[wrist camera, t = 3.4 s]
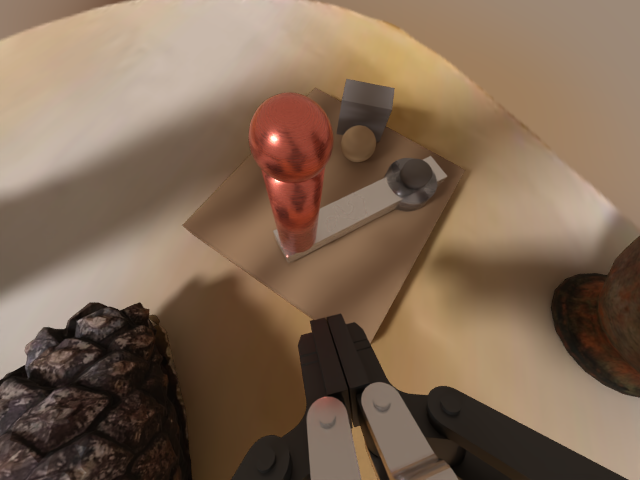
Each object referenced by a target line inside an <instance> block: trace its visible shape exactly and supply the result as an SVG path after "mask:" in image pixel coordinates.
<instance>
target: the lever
mask: <svg viewBox="0 0 640 480" xmlns="http://www.w3.org/2000/svg"><path fill="white" fill-rule="evenodd" d="M333 141H334V138H333V130H332V126H331V123H330V120H329V118H328V116H327V115H326V113H325V111H324V110H323V109H322V108H321V107H320V106H319V105H318V104H317V103H316V102H315V101H313V100H312V99H310V98H309V97H307V96H304V95H301V94H297V93H281V94H277V95H275V96H272V97H270V98H269V99H267V100H266V101H264V102H263V103H262V104H261V105H260V106H259V108H258V109H257V110H256V112H255V113H254V115H253V118H252V120H251V123H250V127H249V145H250V149H251V153H252V155H253V157H254V159H255V161H256V163H257V164H258V166H259V167H260V168H261V170H262V174H263V178H264V182H265V185H266V189H267V193H268V197H269V201H270V204H271V208H272V212H273V216H274V220H275V223H276V227H277V229H276V230H274V231H273V232H274V236H275V239H276V241H277V243H278V245H279V247H280V248H281V250H282V252H283V254H284V256H285V258H286V260H287V262H288V263H291V262H293V261H295V260H297V259H299V258H301V257H303V256H305V255H307V254H309V253H310V252H312V251H314V250H316V249H318V248H320V247H322V246H324V245H326V244H328V243H330V242H332V241H334V240H336V239H338V238H340V237H342V236H344V235H345V234H347V233H349V232H351V231H353V230H355V229H357V228H359V227H361V226H363V225H365V224H367V223H369V222H371V221H373V220H375V219H377V218H379V217H380V216H382V215H384V214H386V213H388V212H390V211H392V210H394V209H397V210H400V211H405V212H410V211H415V210H418V209H419V208H421V207H422V206H423V205H424V204H425V203H426V202H427V201H428V200H429V199H430V198H431V197H432V196H433V194H434V193H435V191H436V189H437V187H438V186H439V185H440V184H441V183H442V182H443V181H444V179H445V178H446V177H447V175H446V174H445V173H444V172H443V170H442V169H441V168H440V167H439V165H438V164H437V163H436V162H435V160H434V159H433V158H432V157H431V156H429V157H427V158H425V159H423V161H425V162H427V163H428V164H429V165H430V167H431V169H432V178H431V179H430V180H429V182H428V183H427V184H426V185H425V186H424V187H422V188H420V189H413V188H410V187H408V186H406V185H405V184H404V183H403V182H402V180H401V178H400V171H401V169H402V168H403V166H404V164H405V163H406V162H407V161H408V160H410V159H414V158H402V159H399V160H397V161H395V162H393V163H392V164H391V165H390V167H389V169H388V170H387V172H386V174H385V176H384V178H383V179H381V180H379V181H377V182H375V183H373V184H371V185H368V186H366V187H364V188H362V189H360V190H358V191H356V192H354V193H352V194H350V195H347V196H345V197H343V198H341V199H339V200H337V201H335V202H333V203H331V204H329V205H326V206H324V207H322V208H320V203H321V195H322V188H323V180H324V172H325V166H326V165H327V163H328V161H329V159H330V157H331V154H332V149H333Z"/></svg>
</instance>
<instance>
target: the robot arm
mask: <svg viewBox="0 0 640 480" xmlns="http://www.w3.org/2000/svg"><path fill="white" fill-rule="evenodd" d="M310 324H311V330H312V333H308V334H304V335H301V337H300V341H299V344H298V349H299V355H300V362H301V368H302V375H303V381H304V388H305V394H306V402H307V406H306V412H305V414H304V417H303V419H302V420H301V422H300V423H299V424H298V425H297V426H296V427H295V428H294V429H293V430H291V431H290V432H288V433H287V434H286V435H284V436H283V437H282V438H280V437H278V436H275V435H269V436H265V437H262V438H261V439H259V440H258V441H257V442H255V443H254V444H253V446H252V447H251V448H250V450H249V451H248V453H247V454H246V456H245V458H244V459H243V461H242V463H241V464H240V466H239V468H238V469H237V471H236V472H235V474H234V476H233V477H232V479H231V480H361V475H360V471H359V466H358V461H357V456H356V452H355V447H354V442H353V438H352V430H351V428H352V422H353V425H354V427H357V426H361V430H362V433H363V436H364V439H365V448H366V451H367V454H368V456H369V459H370V462H371V464H372V467H373V469H374V472H375V475H376V477H377V480H628V479H626V478H624V477H622V476H620V475H618V474H616V473H614V472H613V471H611V470H609V469H607V468H605V467H603V466H601V465H599V464H597V463H595V462H593V461H592V460H590V459H588V458H586V457H584V456H582V455H580V454H578V453H576V452H574V451H572V450H571V449H569V448H567V447H565V446H563V445H561V444H559V443H557V442H555V441H553V440H551V439H550V438H548V437H546V436H544V435H542V434H540V433H538V432H536V431H534V430H532V429H530V428H529V427H527V426H525V425H523V424H521V423H519V422H517V421H515V420H513V419H511V418H509V417H508V416H506V415H504V414H502V413H500V412H498V411H496V410H494V409H492V408H490V407H488V406H487V405H485V404H483V403H481V402H479V401H477V400H475V399H473V398H471V397H469V396H467V395H466V394H464V393H462V392H460V391H458V390H456V389H454V388H451V387H447V386H439V387H436V388H434V389H432V390H431V391H430V393H429V395H416V394H407V393H404V392H401V391H399V390H398V389H396V388H395V387H393V386H392V385H391V384H390V382H389V381H388V379H387V378H386V376H385V374H384V372H383V369H382V367H381V365H380V363H379V361H378V359H377V357H376V355H375V353H374V351H373V349H372V347H371V345H370V343H369V340H368V338H367V336H366V334H365V332H364V330H363V329H362V328H361V327H360V326H359V325H358V324H357V323H355V322H353V323H348V324H346V323H345V321H344V318H343V316H342V314H341V313H340V314H336V315H332V316H328V317H326V318H325V317H324V318H320V319H316V320H311V321H310ZM351 419H352V420H351Z"/></svg>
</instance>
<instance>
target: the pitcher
mask: <svg viewBox="0 0 640 480" xmlns="http://www.w3.org/2000/svg"><path fill="white" fill-rule="evenodd" d="M551 310H552V314H553V319H554V324H555V329H556V332H557V333H558V335H559V337H560V339H561V341H562V342H563V344H564V346H565V348H566V350H567V351H568V353H569V354H570V355H571V356H572V357H573V358H574V360H575V361H576V362H577V363H578V364H579V365H580V366H581V367H582V369H583V370H584V371H585V372H587V373H588V374H590V375H591V376H592V377H594V378H595V379H596V380H598V381H599V382H601V383H602V384H603V385H605V386H607V387H609V388H612V389H614V390H616V391H618V392H620V393H622V394H626V395H630V396H635V397H640V236H639V237H638V238H637V239H636V240H635V241H633V242H632V243H631V244H630V245H629V246H628V247H627V248H626V249H625V250H624V251H623V252H622V253H621V254H620V255H619V256H618V257H617V258H616V259H615V261H614V263H613V266H612V268H611V270H610V272H609V274H608V275H602V274H597V273H593V274H578V275H575V276H573V277H570V278H567V279H565V280H564V281H563V282H562V284H561V285H560V286H559V287H558V288H557V289H556V290H555V294H554V298H553V303H552V307H551Z"/></svg>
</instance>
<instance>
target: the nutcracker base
mask: <svg viewBox="0 0 640 480" xmlns="http://www.w3.org/2000/svg"><path fill="white" fill-rule="evenodd" d="M394 89H395V88H391V87H385V86H380V85H375V84H370V83H365V82H360V81H355V80H350V79H346V83H345V88H344V93H343V97H342V102H341V101H339V100H337V99H335V98H333V97H331V96H330V95H328V94H326V93H324V92H322V91H321V90H319V89H317V88H314V89H313V90H312V91H311V92H310V93H309V94H308V95H307V97H309V98H310V99H312V100H313V101H315V102H316V103H317V104H318V105H319V106H320V107H321V108H322V109H323V110H324V111H325V113H326V115H327V116H328V118H329V120H330V123H331V126H332V130H333V138H334V141H333V149H332V154H331V157H330V159H329V161H328V163H327V165H326V166H325V172H324V180H323V188H322V195H321V203H320V208H322V207H324V206H326V205H329V204H331V203H333V202H335V201H337V200H339V199H341V198H343V197H345V196H347V195H350V194H352V193H354V192H356V191H358V190H360V189H362V188H364V187H366V186H368V185H371V184H373V183H375V182H377V181H379V180H381V179H383V178H384V176H385V174H386V172H387V170H388V169H389V167H390V165H391V164H392V163H393V162H395V161H397V160H399V159H402V158H414V159H410V160H408V161H407V162H406V163H405V164H404V166H403V168H402V169H401V171H400V178H401V180H402V182H403V183H404V184H405V185H406V186H408V187H410V188H413V189H420V188H422V187H424V186H425V185H426V184H427V183H428V182H429V180H430V179H431V178H432V169H431V167H430V165H429V164H428V163H427V162H425V161H423V159H425V158H427V157H429V156H431V157H432V158H433V159H434V160H435V162H436V163H437V164H438V165H439V167H440V168H441V169H442V170H443V172H444V173H445V174H446V175H447V177H446V178H445V179H444V181H443V182H442V183H441V184H440V185H439V186H438V187H437V189H436V191H435V193H434V194H433V196H432V197H431V198H430V199H429V200H428V201H427V202H426V203H425V204H424V205H423V206H422V207H421V208H419V209H418V210H415V211H410V212H405V211H400V210H397V209H394V210H392V211H390V212H388V213H386V214H384V215H382V216H380V217H379V218H377V219H375V220H373V221H371V222H369V223H367V224H365V225H363V226H361V227H359V228H357V229H355V230H353V231H351V232H349V233H347V234H345V235H344V236H342V237H340V238H338V239H336V240H334V241H332V242H330V243H328V244H326V245H324V246H322V247H320V248H318V249H316V250H314V251H312V252H310V253H309V254H307V255H305V256H303V257H301V258H299V259H297V260H295V261H293V262H291V263H288V262H287V260H286V258H285V256H284V254H283V252H282V250H281V248H280V247H279V245H278V243H277V241H276V239H275V236H274V232H273V231H274V230H276V229H277V227H276V223H275V220H274V216H273V212H272V208H271V204H270V201H269V197H268V193H267V189H266V185H265V182H264V178H263V174H262V170H261V168H260V167H259V166H258V164H257V163H256V161H255V159H254V157H253V155H252V153H251V154H250V156H249V157H248V158H247V159H246V160H245V161H244V162H243V163H242V164H241V165H240V166H239V167H238V168H237V169H236V170H235V171H234V172H233V173H232V174H231V175H230V176H229V177H228V178H227V179H226V180H225V181H224V182H223V184H222V185H221V186H220V187H219V188H218V189H217V190H216V191H215V192H214V193H213V194H212V195H211V196H210V197H209V198H208V199H207V200H206V201H205V202H204V203H203V204H202V205H201V206H200V207H199V208H198V209H197V210H196V211H195V213H194V214H193V215H192V216H191V217H190V218H189V219H188V220H187V221H186V222H185V223H184V224H183V225H182V226H184V227H185V228H186V229H187V230H188V231H189V232H190V233H192V234H193V235H194V236H196V237H197V238H199V239H200V240H201V241H203V242H204V243H206V244H207V245H208V246H210V247H211V248H213V249H214V250H216V251H217V252H218V253H220V254H221V255H223V256H224V257H225V258H227V259H228V260H230V261H231V262H232V263H234V264H235V265H237V266H238V267H240V268H241V269H242V270H244V271H245V272H247V273H248V274H249V275H251V276H252V277H254V278H255V279H257V280H258V281H259V282H261V283H262V284H264V285H265V286H266V287H268V288H269V289H271V290H272V291H273V292H275V293H276V294H278V295H279V296H281V297H282V298H283V299H285V300H286V301H288V302H289V303H290V304H292V305H293V306H295V307H296V308H297V309H299V310H300V311H302V312H303V313H305V314H306V315H307V316H309V317H310V318H312V319H313V320H316V319H320V318H324V317H325V318H326V317H328V316H332V315H336V314H340V313H341V314H342V316H343V318H344V321H345V323H346V324H348V323H353V322H355V323H357V324H358V325H359V326H360V327H361V328H362V329H363V330H364V332H365V334H366V336H367V338H368V340H369V343H371V341H372V339H373V338H374V336H375V334H376V332H377V330H378V329H379V327H380V325H381V323H382V321H383V319H384V318H385V316H386V314H387V312H388V310H389V308H390V307H391V305H392V303H393V301H394V299H395V298H396V296H397V294H398V292H399V290H400V288H401V287H402V285H403V283H404V281H405V279H406V277H407V276H408V274H409V272H410V270H411V268H412V266H413V265H414V263H415V261H416V259H417V257H418V256H419V254H420V252H421V250H422V248H423V246H424V245H425V243H426V241H427V239H428V237H429V235H430V234H431V232H432V230H433V228H434V226H435V224H436V223H437V221H438V219H439V217H440V215H441V214H442V212H443V210H444V208H445V206H446V204H447V203H448V201H449V199H450V197H451V195H452V193H453V192H454V190H455V188H456V186H457V184H458V182H459V181H460V179H461V177H462V175H463V173H464V172H465V170H464V169H462V168H461V167H459V166H457V165H455V164H453V163H452V162H450V161H448V160H446V159H444V158H442V157H441V156H439V155H437V154H435V153H433V152H432V151H430V150H428V149H426V148H424V147H422V146H421V145H419V144H417V143H415V142H413V141H412V140H410V139H408V138H406V137H404V136H402V135H401V134H399V133H397V132H395V131H393V130H392V129H390V128H388V127H386V123H387V121H388V118H389V116H390V113H391V111H392V105H393V97H394Z"/></svg>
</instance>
